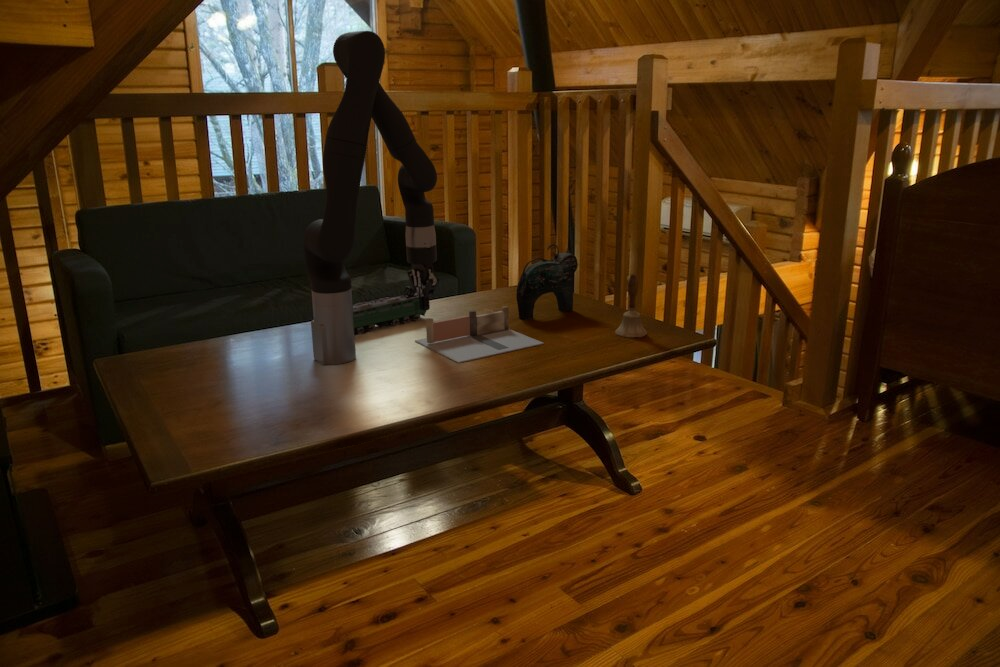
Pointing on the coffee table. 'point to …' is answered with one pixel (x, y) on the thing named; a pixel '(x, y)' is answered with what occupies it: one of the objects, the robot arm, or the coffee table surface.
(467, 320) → the panel
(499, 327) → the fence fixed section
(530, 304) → the black animal figurine
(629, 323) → the hand bell
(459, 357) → the card
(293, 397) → the coffee table surface
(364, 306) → the toy train
